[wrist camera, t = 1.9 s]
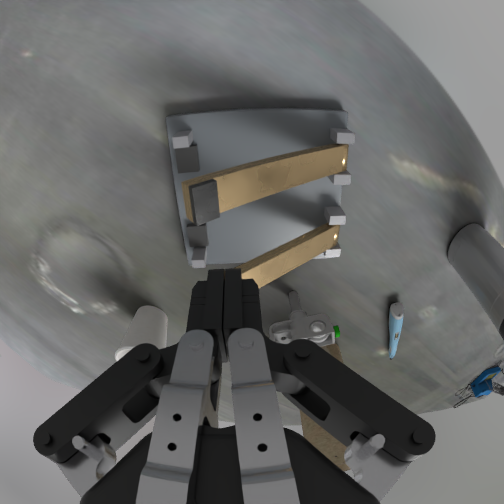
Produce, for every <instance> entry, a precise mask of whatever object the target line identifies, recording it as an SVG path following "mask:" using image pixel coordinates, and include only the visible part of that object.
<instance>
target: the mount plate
mask: <svg viewBox="0 0 504 504" xmlns="http://www.w3.org/2000/svg"><path fill="white" fill-rule="evenodd" d="M347 122H348V112H346V111H344V110H332V109H312V108H250V109H230V110H216V111H204V112H194V113H185V114H177V115H169V116H167V117H166V124H167V133H168V141H169V149H170V156H171V163H172V170H173V177H174V184H175V190H176V196H177V203H178V209H179V215H180V220H181V226H182V232H183V237H184V242H185V248H186V253H187V258H188V263H189V265H192V266H193V268H205V267H206V264H227V263H246V262H248V261H250V260H252V259H254V258H256V257H258V256H260V255H262V254H264V253H266V252H268V251H270V250H272V249H274V248H277V247H279V246H281V245H283V244H285V243H287V242H289V241H291V240H293V239H295V238H297V237H299V236H301V235H303V234H305V233H307V232H309V231H311V230H313V229H316V228H318V227H320V226H322V225H324V224H326V223H329V225H345V220H346V215H345V213H344V212H343V210H342V209H341V207H340V202H341V193H342V185H350V181H351V174H350V173H349V172H348V171H347V170H346V171H342V172H339V173H336V174H333V175H329V176H326V177H323V178H320V179H317V180H314V181H311V182H308V183H305V184H302V185H299V186H296V187H293V188H290V189H287V190H284V191H281V192H278V193H275V194H272V195H269V196H266V197H263V198H261V199H258V200H255V201H252V202H249V203H246V204H244V205H241V206H238V207H235V208H233V209H230V210H227V211H224V212H222V213H220V218H217V219H214V220H212V221H209V222H207V223H204V224H201V225H199V226H197V225H195V224H194V223H193V222H192V221H190V220H189V219H188V218H187V217H186V211H185V204H184V198H183V191H182V184H181V182H183V181H186V180H189V179H192V178H196V177H199V176H202V175H206V174H209V173H213V172H216V171H220V170H223V169H227V168H230V167H234V166H238V165H242V164H245V163H249V162H253V161H257V160H261V159H265V158H269V157H273V156H278V155H282V154H286V153H291V152H295V151H300V150H304V149H309V148H314V147H319V146H324V145H329V144H334V143H340V144H354V140H355V133H353V132H352V131H350V130H348V129H347ZM340 252H341V248H340V246H339V244H338V242H337V245H336V246H333V247H331V248H330V249H328V250H326V251H324V252H323V253H321V254H319V255H318V256H316V257H314V258H312V259H319V258H333V257H340Z"/></svg>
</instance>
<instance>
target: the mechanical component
mask: <svg viewBox="0 0 504 504" xmlns="http://www.w3.org/2000/svg"><path fill="white" fill-rule="evenodd" d="M289 302H290V305H291V312H292V313H291V314H290V315H289V320H287V321H282V322H277V323H274V324H272V325H271V326H270V328H269V335H270V340H272V341H274V342H278V343H282V344H287V343H290V342H291V341H293V340H296V339H307V340H310V341H313V342H314V343H316V344H317V345H318V346H320V347H321V346H325V345H330V344H334V343H335V337H340V331H339V327H338V326H333V325H332V323H331V322H330V319H329V317H328V316H327V315H326V314H316V315H311V316H307V317H306V312H305V311H303V310H302V309H301V306H300V300H299V296H298V293H297V292H296V291H291V292H290V293H289ZM318 331H320V332H318ZM282 337H286V338H285V339H281V338H282Z"/></svg>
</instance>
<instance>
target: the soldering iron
mask: <svg viewBox="0 0 504 504" xmlns="http://www.w3.org/2000/svg"><path fill="white" fill-rule="evenodd" d="M500 371H502V373H503V369H502V370H501V369H500V368H499V367H495V368H491V369H488V370H485V371H484V372H483V373H482V374H481V375H480V376H479V377H478V378H477V379H476V380H475V381H474V382H472V383H471V384H468V385H470V386H471V388H469V389H472V391H473V392H474V395H475V396H471V395H472V394H471V395H470V396H469V397H478V398H479V397H480V396H483V395H488V394H490V393H491V392H492V391H494V390H496V391H494V392H495V393H498V394H501V395H504V387H502V385H500V384H498V383H496V384H497V387H496V386H495V385H496V384H495V382H493V383H494V384H493V385H494V386H495V387H494V386H493V385H492V379H493V378H494V377H495V376H496V375H497V374H498V373H499V372H500ZM503 374H504V373H503ZM498 385H499V386H501V387H500V388H498V387H499V386H498ZM492 386H493V387H492ZM467 388H468V387H467ZM467 388H466V389H465V390H467ZM463 389H464V388H463ZM469 389H468V390H469ZM493 389H494V390H493ZM461 390H462V389H461ZM459 391H460V390H459ZM463 391H464V390H463ZM463 391H462V392H463ZM497 391H498V392H497ZM462 392H461V393H462ZM473 392H471V393H473ZM456 393H457V392H456ZM461 393H460V394H461ZM464 393H465V392H464ZM464 393H463V394H464ZM469 394H470V393H469ZM455 396H458V395H456V394H455ZM464 397H465V396H464ZM469 397H468V398H469ZM462 398H463V397H462ZM459 399H461V397H460V398H459ZM466 399H467V398H466ZM464 400H465V399H464ZM462 401H463V400H462ZM462 401H460V402H462ZM460 402H459V403H460ZM464 402H465V401H464ZM464 402H463V403H464ZM463 403H462V404H463ZM457 404H458V403H457ZM457 404H456V405H457ZM460 405H461V404H460ZM460 405H459V406H460ZM457 407H458V406H457ZM454 408H456V407H454Z"/></svg>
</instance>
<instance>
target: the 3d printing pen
mask: <svg viewBox="0 0 504 504" xmlns="http://www.w3.org/2000/svg"><path fill="white" fill-rule="evenodd" d="M403 314H404V306H403V304H402V303H401V302H397V303H393V304H391V307H390V313H389V332H390V342H389V357H390V359H391V360H392V358H393V357H394V355H395V352H396V350H397V344H398V340H399V339H400V332H401V328H402V322H403Z"/></svg>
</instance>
